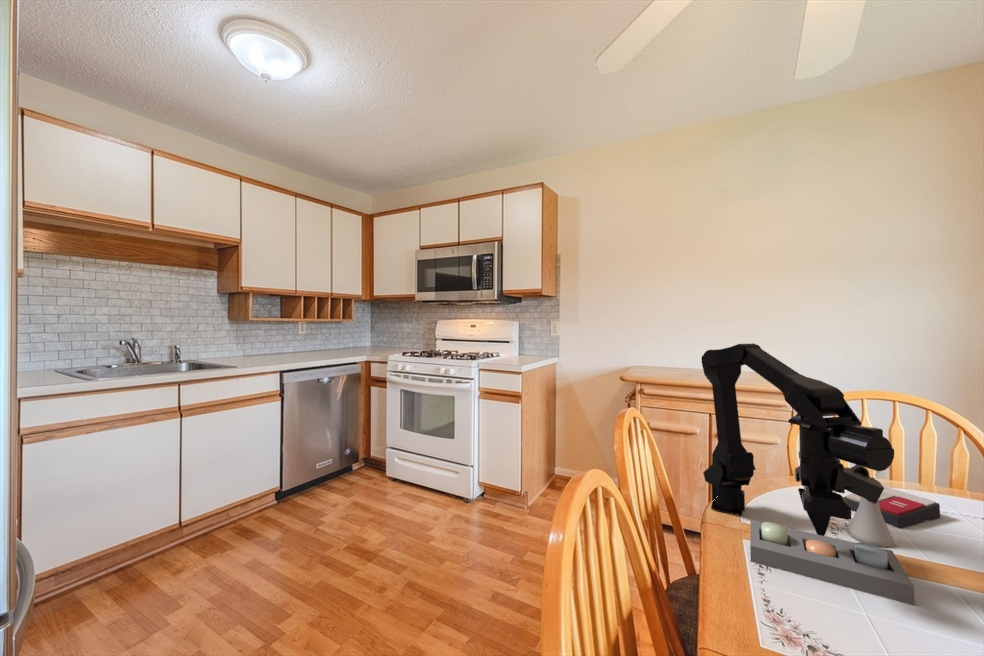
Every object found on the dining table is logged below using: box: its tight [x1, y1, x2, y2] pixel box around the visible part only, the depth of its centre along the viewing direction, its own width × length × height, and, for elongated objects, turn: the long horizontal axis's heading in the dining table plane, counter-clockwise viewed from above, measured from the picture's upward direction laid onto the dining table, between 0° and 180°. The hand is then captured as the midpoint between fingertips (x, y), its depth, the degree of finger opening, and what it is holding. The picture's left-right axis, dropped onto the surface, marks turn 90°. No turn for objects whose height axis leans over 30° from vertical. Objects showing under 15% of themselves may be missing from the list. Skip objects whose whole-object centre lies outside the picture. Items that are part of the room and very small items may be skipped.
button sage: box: [762, 521, 788, 546], centre depth 77 cm, size 4×4×3 cm
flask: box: [846, 497, 897, 548], centre depth 82 cm, size 7×7×10 cm
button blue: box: [855, 541, 888, 570], centre depth 69 cm, size 4×4×3 cm
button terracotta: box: [806, 540, 835, 558], centre depth 73 cm, size 4×4×3 cm
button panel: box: [749, 519, 916, 606], centre depth 73 cm, size 22×12×3 cm, turn 56°
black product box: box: [843, 485, 941, 529], centre depth 93 cm, size 11×4×15 cm
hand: (820, 534), depth 73 cm, fingers closed
